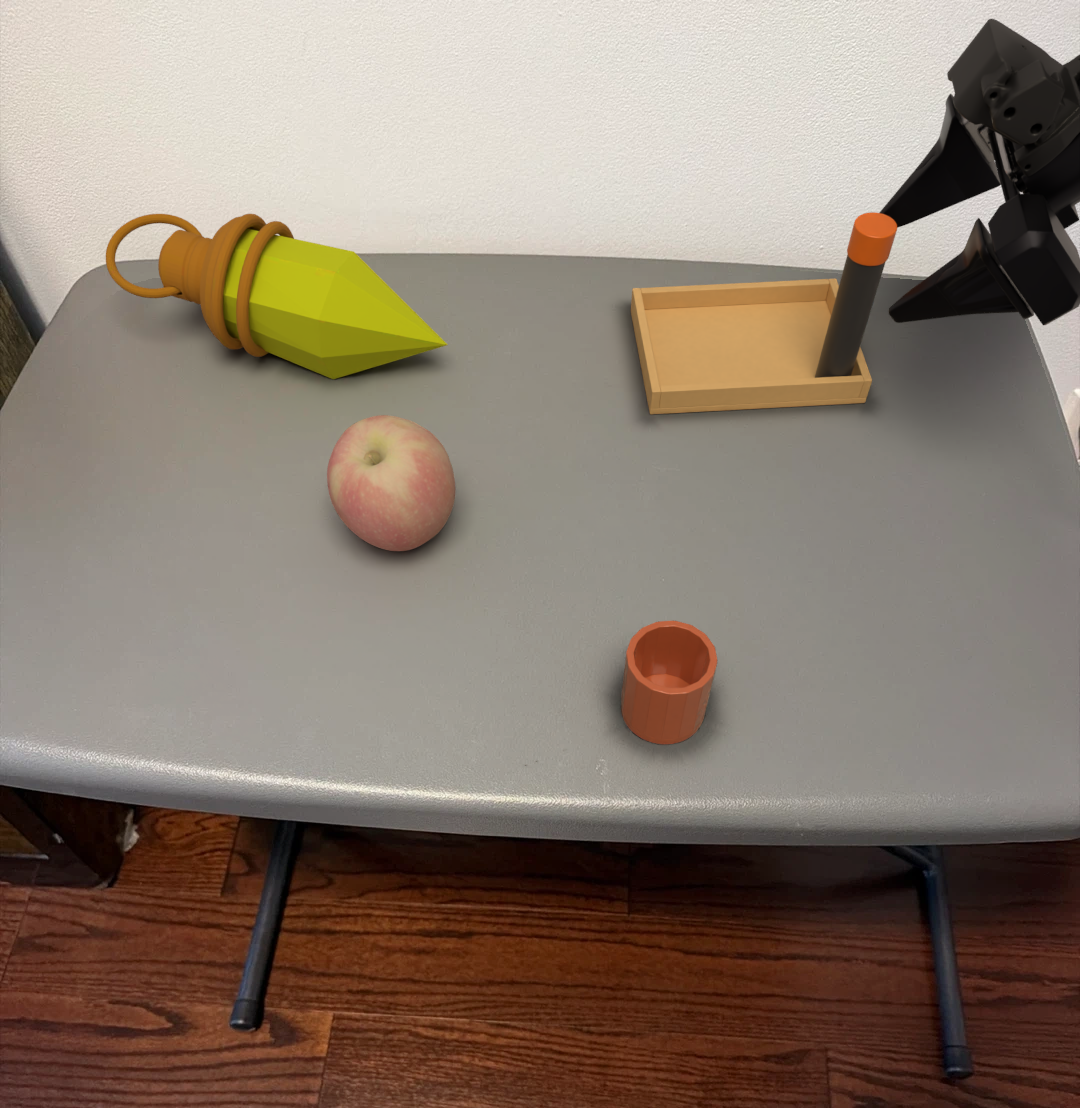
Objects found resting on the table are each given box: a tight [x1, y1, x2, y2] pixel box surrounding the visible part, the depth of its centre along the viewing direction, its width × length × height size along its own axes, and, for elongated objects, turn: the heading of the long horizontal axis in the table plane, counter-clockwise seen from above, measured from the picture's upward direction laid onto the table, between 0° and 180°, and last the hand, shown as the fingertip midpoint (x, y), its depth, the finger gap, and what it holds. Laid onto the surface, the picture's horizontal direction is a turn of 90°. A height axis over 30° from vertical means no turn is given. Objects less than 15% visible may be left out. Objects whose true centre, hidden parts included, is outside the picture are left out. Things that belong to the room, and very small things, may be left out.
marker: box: [815, 211, 898, 378], centre depth 71 cm, size 3×3×12 cm
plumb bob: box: [105, 213, 449, 380], centre depth 75 cm, size 9×9×25 cm
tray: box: [630, 278, 873, 415], centre depth 77 cm, size 15×11×2 cm
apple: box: [326, 414, 456, 552], centre depth 66 cm, size 8×8×8 cm
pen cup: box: [620, 620, 718, 745], centre depth 60 cm, size 5×5×5 cm
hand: (884, 269), depth 68 cm, fingers open, 9 cm apart
